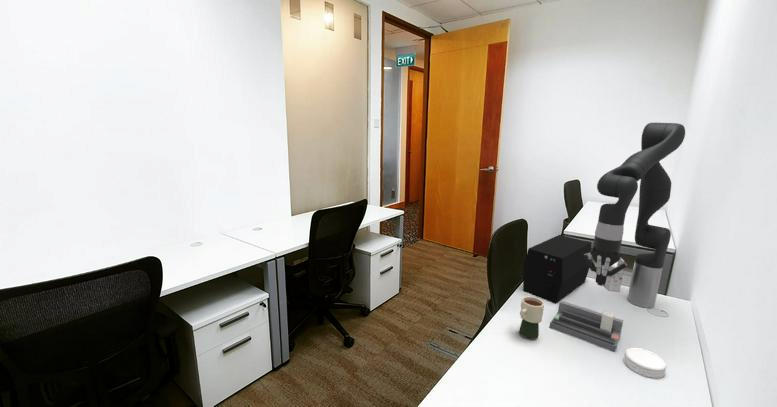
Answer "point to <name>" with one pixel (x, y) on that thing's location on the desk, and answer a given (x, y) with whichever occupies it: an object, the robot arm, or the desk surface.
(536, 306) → the character mug
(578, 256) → the uninterruptible power supply
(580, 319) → the grey slider panel
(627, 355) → the white round disc
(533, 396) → the desk surface
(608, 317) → the handle
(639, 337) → the desk surface
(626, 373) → the desk surface
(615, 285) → the ink cartridge box
